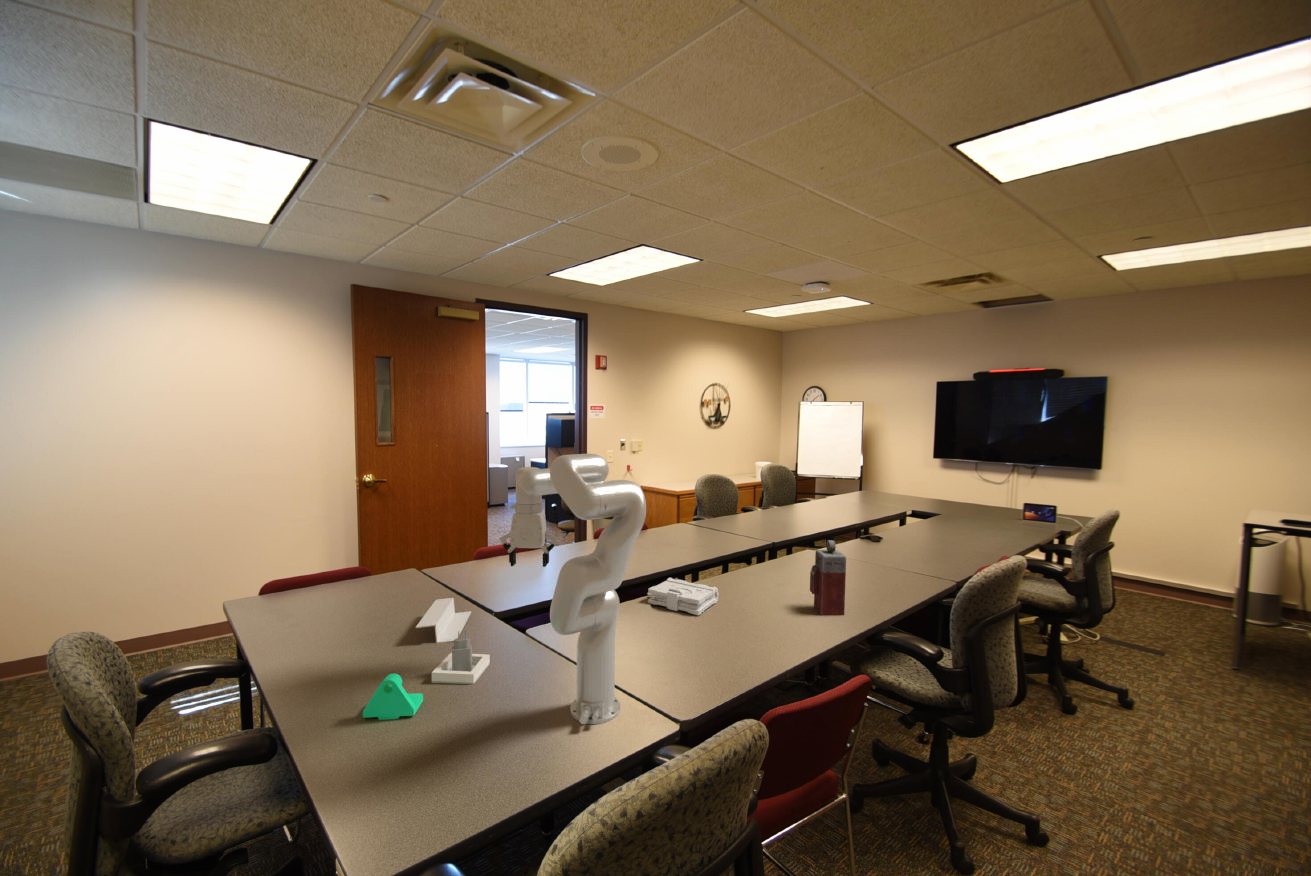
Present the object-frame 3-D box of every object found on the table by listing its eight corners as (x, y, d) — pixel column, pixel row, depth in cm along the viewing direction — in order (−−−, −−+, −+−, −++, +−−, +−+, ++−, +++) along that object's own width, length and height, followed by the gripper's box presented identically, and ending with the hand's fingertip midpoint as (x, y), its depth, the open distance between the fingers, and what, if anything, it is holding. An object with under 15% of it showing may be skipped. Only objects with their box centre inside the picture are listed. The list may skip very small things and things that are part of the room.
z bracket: (417, 645, 173) (415, 627, 173) (437, 616, 198) (435, 599, 198) (456, 640, 175) (454, 622, 175) (471, 612, 200) (469, 595, 199)
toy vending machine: (807, 607, 210) (809, 537, 208) (836, 608, 210) (838, 537, 208) (814, 616, 201) (817, 543, 199) (844, 616, 201) (847, 543, 199)
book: (661, 588, 231) (661, 571, 230) (720, 602, 216) (720, 583, 215) (636, 602, 214) (636, 583, 214) (698, 617, 199) (698, 597, 199)
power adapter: (472, 672, 154) (471, 631, 153) (452, 675, 152) (451, 633, 151) (472, 667, 157) (472, 627, 156) (452, 670, 155) (452, 629, 154)
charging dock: (473, 684, 148) (473, 674, 148) (431, 682, 149) (431, 672, 149) (489, 664, 160) (489, 654, 160) (450, 662, 161) (450, 652, 161)
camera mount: (424, 702, 139) (423, 664, 139) (413, 719, 132) (413, 679, 131) (376, 704, 138) (375, 665, 138) (362, 721, 131) (362, 680, 130)
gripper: (496, 510, 156) (496, 568, 157) (554, 511, 155) (554, 569, 156) (504, 506, 164) (504, 561, 164) (560, 506, 163) (560, 562, 164)
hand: (529, 565), depth 160 cm, fingers open, 9 cm apart
